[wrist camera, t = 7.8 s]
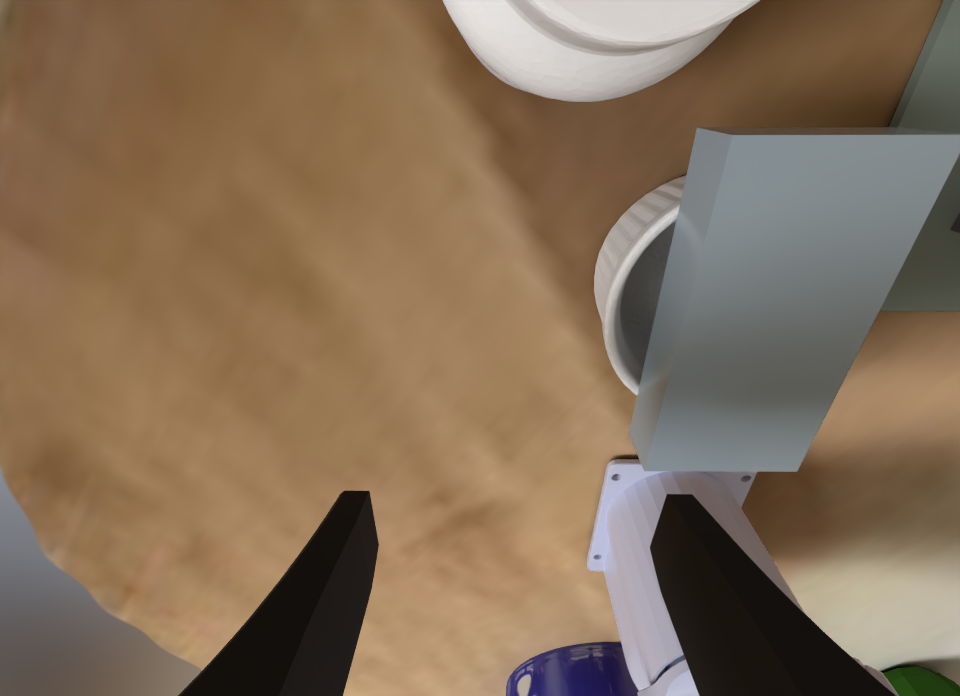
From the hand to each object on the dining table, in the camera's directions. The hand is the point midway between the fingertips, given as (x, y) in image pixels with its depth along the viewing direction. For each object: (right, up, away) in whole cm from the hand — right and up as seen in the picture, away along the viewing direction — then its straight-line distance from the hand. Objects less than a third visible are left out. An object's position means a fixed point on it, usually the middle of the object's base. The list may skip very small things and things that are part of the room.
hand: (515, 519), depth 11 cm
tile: (+8, +6, +4) cm, 10 cm away
